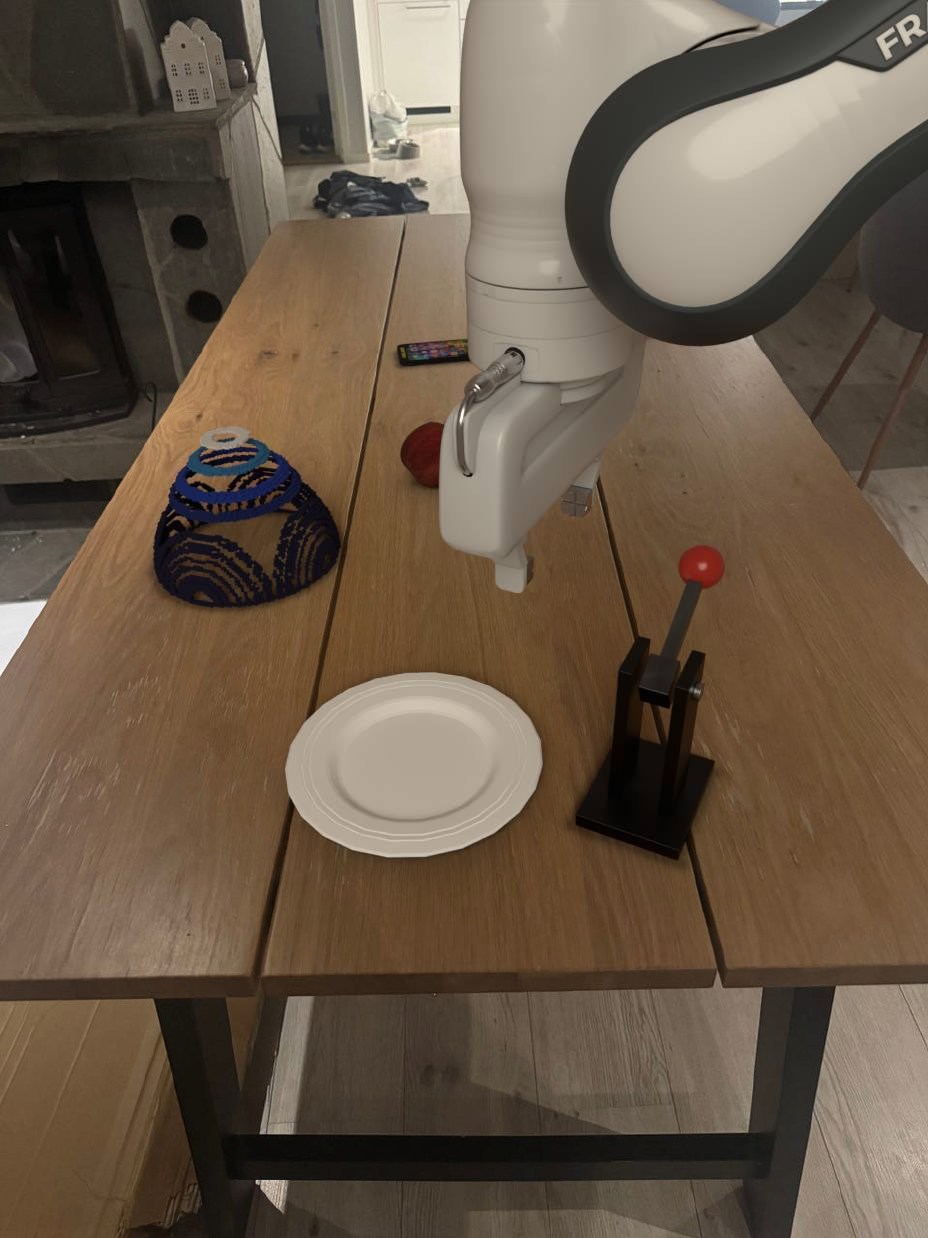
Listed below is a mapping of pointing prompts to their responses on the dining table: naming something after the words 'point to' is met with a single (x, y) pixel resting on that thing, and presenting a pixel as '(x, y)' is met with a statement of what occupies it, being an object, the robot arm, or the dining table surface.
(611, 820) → the switch bracket
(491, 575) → the dining table surface
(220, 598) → the decorative bowl
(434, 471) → the apple
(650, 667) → the lever
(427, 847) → the plate
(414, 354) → the smartphone
